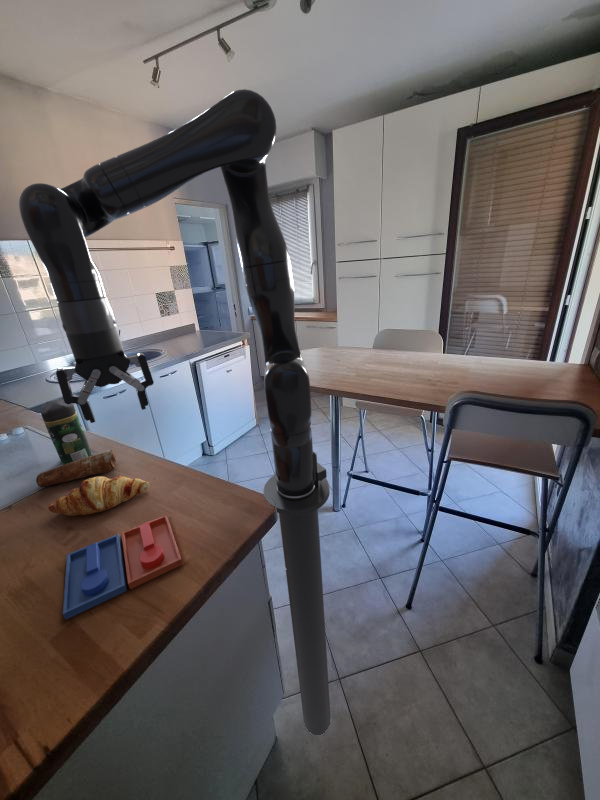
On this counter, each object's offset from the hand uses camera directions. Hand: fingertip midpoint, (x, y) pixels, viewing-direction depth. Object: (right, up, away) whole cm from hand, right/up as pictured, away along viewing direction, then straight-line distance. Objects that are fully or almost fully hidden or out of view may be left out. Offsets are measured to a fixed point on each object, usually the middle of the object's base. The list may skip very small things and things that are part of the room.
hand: (118, 414), depth 62 cm
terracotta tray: (+5, -27, +3) cm, 27 cm away
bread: (-26, -19, +28) cm, 42 cm away
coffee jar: (-33, -15, +37) cm, 52 cm away
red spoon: (+4, -26, +3) cm, 27 cm away
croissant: (-13, -22, +17) cm, 31 cm away
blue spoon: (-4, -29, -1) cm, 29 cm away
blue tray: (-4, -29, -1) cm, 29 cm away
